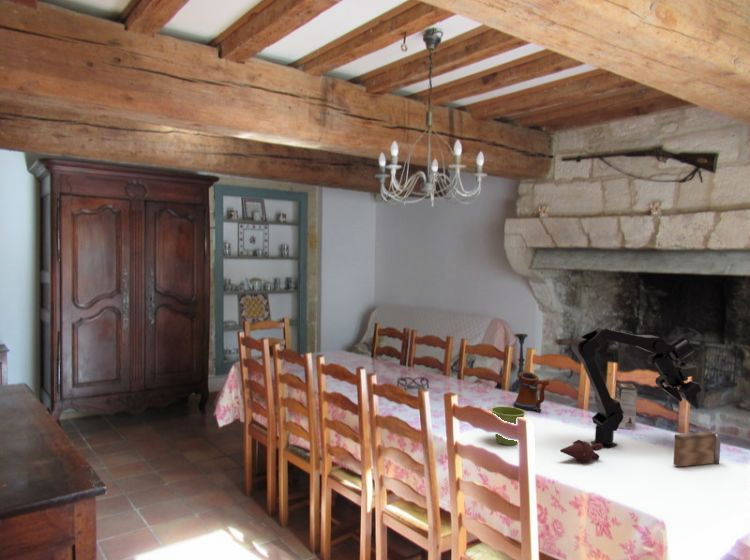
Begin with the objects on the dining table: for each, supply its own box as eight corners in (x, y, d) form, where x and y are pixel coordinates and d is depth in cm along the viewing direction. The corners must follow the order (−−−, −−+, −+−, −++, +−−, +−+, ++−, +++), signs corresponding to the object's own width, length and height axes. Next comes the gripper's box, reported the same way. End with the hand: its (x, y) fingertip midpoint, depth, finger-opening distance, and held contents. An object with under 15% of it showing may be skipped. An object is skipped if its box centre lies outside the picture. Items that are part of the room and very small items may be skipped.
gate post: (717, 464, 181) (719, 435, 180) (709, 462, 183) (711, 433, 182) (720, 463, 182) (722, 434, 182) (712, 461, 184) (714, 432, 184)
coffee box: (613, 421, 226) (615, 382, 225) (630, 423, 224) (632, 383, 224) (618, 428, 217) (620, 387, 216) (636, 430, 215) (638, 388, 215)
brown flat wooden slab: (708, 460, 183) (710, 431, 183) (714, 463, 181) (716, 434, 180) (672, 464, 179) (674, 434, 178) (678, 466, 177) (680, 436, 176)
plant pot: (531, 444, 195) (533, 412, 194) (507, 450, 188) (508, 417, 188) (506, 434, 204) (507, 404, 204) (482, 439, 198) (483, 408, 198)
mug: (557, 414, 234) (559, 378, 233) (535, 416, 229) (537, 380, 228) (529, 403, 250) (530, 369, 250) (507, 405, 246) (509, 371, 245)
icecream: (569, 447, 174) (610, 449, 178) (557, 434, 181) (597, 436, 184) (563, 467, 176) (604, 468, 179) (551, 453, 182) (591, 454, 186)
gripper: (703, 360, 188) (726, 399, 189) (671, 350, 206) (691, 385, 207) (675, 378, 187) (698, 417, 189) (645, 366, 206) (666, 402, 207)
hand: (688, 404), depth 198 cm, fingers open, 9 cm apart
